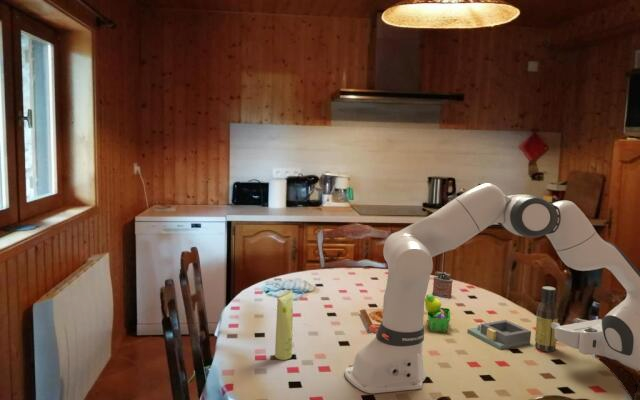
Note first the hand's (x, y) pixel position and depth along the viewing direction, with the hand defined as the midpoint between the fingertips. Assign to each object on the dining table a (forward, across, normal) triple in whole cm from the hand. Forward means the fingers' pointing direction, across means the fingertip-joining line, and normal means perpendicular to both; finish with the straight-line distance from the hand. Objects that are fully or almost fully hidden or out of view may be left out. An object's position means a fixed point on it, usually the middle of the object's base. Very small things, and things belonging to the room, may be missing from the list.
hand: (563, 322), depth 163 cm
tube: (+30, +80, +12) cm, 86 cm away
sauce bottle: (+6, 0, +11) cm, 13 cm away
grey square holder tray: (+18, +8, +11) cm, 23 cm away
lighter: (+61, -3, +11) cm, 62 cm away
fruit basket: (+34, +21, +11) cm, 42 cm away
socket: (+16, +7, +10) cm, 20 cm away
